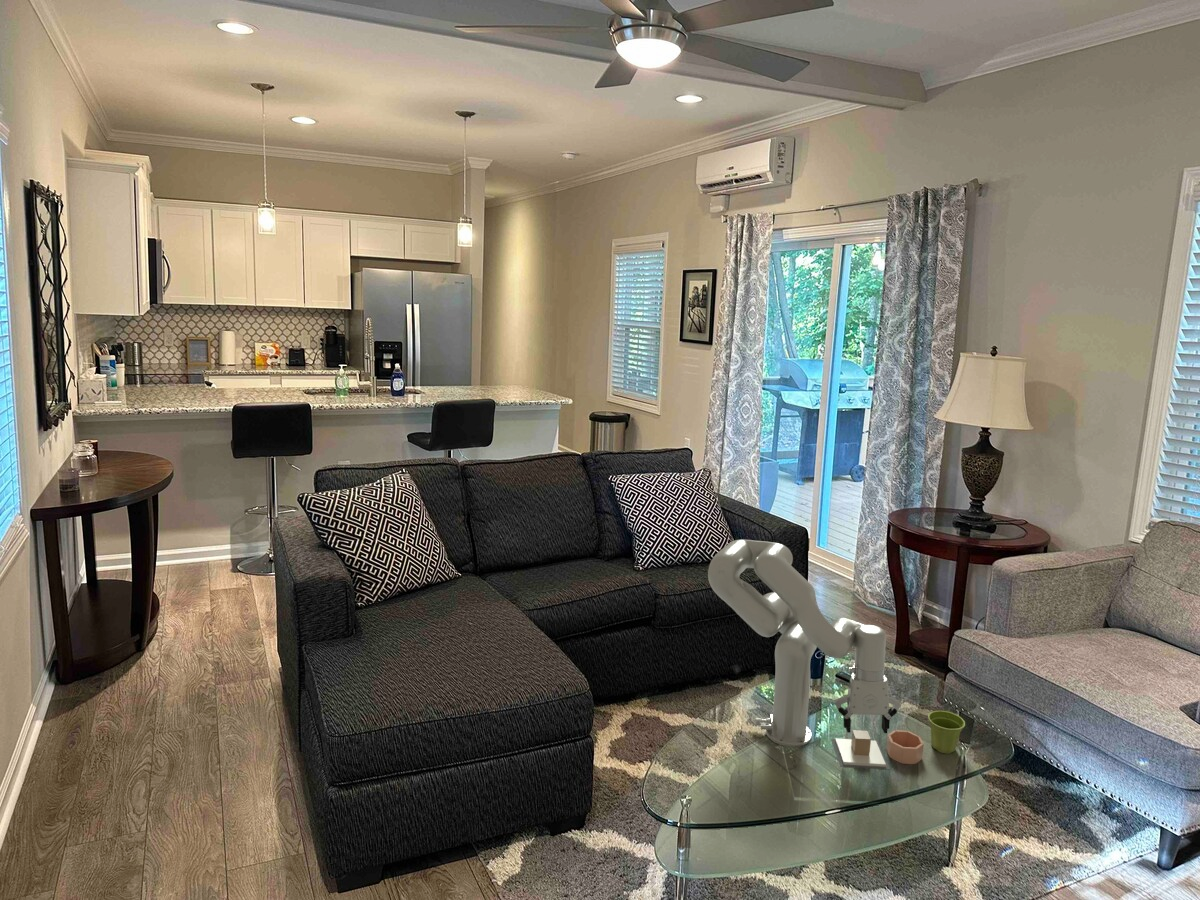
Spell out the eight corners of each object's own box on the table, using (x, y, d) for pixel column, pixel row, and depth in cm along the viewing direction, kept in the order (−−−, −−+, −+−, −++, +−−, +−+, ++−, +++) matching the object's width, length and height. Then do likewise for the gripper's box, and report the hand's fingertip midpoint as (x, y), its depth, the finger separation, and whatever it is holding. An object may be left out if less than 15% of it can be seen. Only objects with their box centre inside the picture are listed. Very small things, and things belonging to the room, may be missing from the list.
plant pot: (964, 759, 227) (968, 731, 225) (928, 755, 229) (931, 726, 227) (957, 740, 236) (961, 712, 234) (922, 736, 238) (925, 708, 236)
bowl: (891, 764, 225) (893, 747, 224) (883, 745, 233) (884, 729, 232) (925, 766, 224) (927, 749, 223) (915, 747, 233) (917, 731, 232)
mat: (840, 768, 223) (840, 766, 223) (830, 740, 235) (830, 738, 235) (890, 771, 222) (890, 769, 222) (878, 743, 234) (878, 741, 234)
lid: (843, 764, 224) (845, 745, 222) (835, 741, 234) (837, 722, 233) (885, 766, 223) (887, 747, 221) (875, 743, 233) (877, 724, 232)
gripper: (838, 678, 220) (836, 737, 223) (906, 679, 218) (902, 738, 222) (833, 664, 227) (830, 722, 231) (898, 665, 226) (895, 723, 229)
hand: (865, 730), depth 226 cm, fingers open, 9 cm apart
